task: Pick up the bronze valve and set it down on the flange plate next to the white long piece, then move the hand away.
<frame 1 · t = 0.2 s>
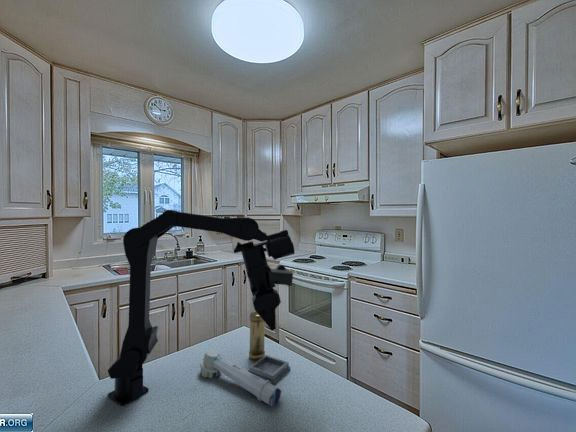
hand: (271, 322, 72), 15 cm above the countertop, tool tilted 15°, fingers open, 9 cm apart
white long piece: (236, 387, 70), on the countertop
flange plate: (269, 372, 76), on the countertop
bronze valve: (256, 357, 84), on the countertop
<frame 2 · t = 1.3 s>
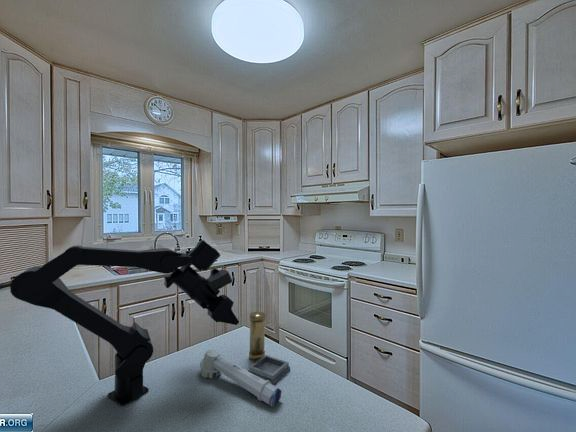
hand: (231, 318, 80), 13 cm above the countertop, tool tilted 45°, fingers open, 9 cm apart
nothing on the countertop moved.
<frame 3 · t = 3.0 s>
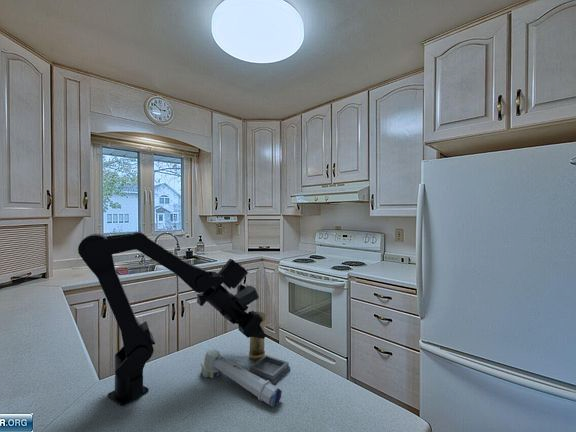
hand: (257, 331, 84), 8 cm above the countertop, tool tilted 45°, fingers open, 9 cm apart
nothing on the countertop moved.
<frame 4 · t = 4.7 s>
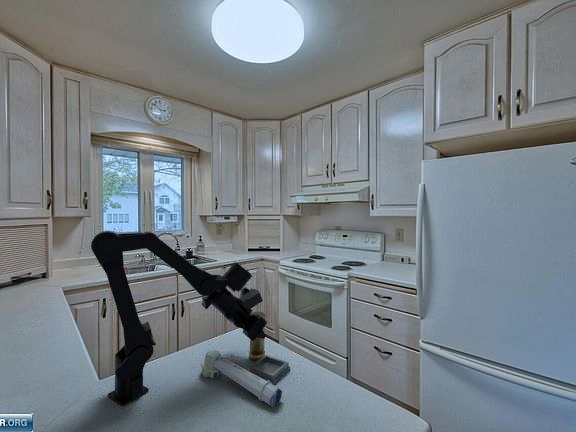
hand: (261, 334, 85), 7 cm above the countertop, tool tilted 45°, fingers closed on bronze valve, 4 cm apart
bronze valve: (256, 356, 84), on the countertop, touching gripper
everything else where it was.
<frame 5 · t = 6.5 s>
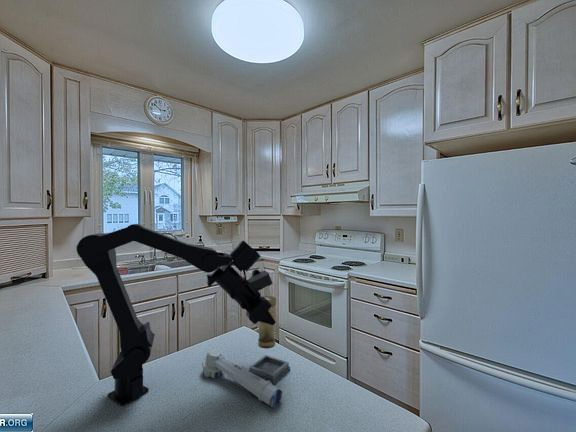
hand: (271, 320, 79), 13 cm above the countertop, tool tilted 45°, fingers closed on bronze valve, 4 cm apart
bronze valve: (266, 344, 78), point 7 cm above the countertop, touching gripper
everything else where it was.
when the fingers open (8 cm above the countertop, at t = 8.6 s): bronze valve stays where it is, resting on flange plate.
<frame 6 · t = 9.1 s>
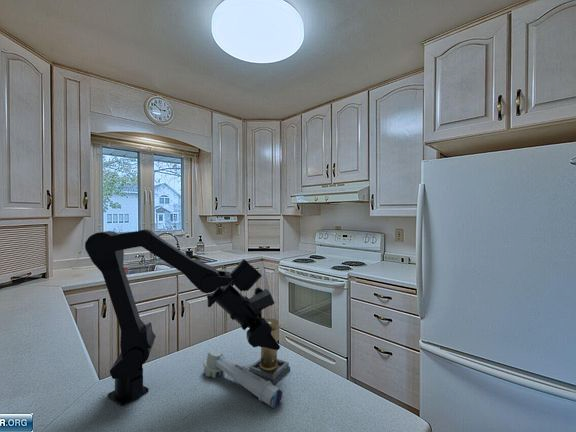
hand: (274, 340, 76), 9 cm above the countertop, tool tilted 45°, fingers open, 9 cm apart
bronze valve: (268, 369, 76), point 1 cm above the countertop, touching flange plate
everything else where it was.
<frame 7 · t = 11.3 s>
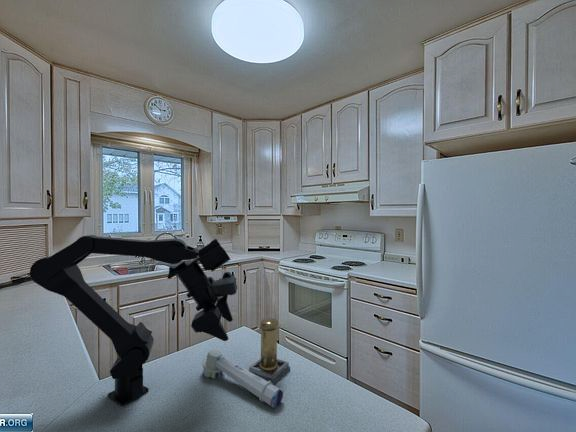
hand: (229, 329, 73), 13 cm above the countertop, tool tilted 35°, fingers open, 9 cm apart
nothing on the countertop moved.
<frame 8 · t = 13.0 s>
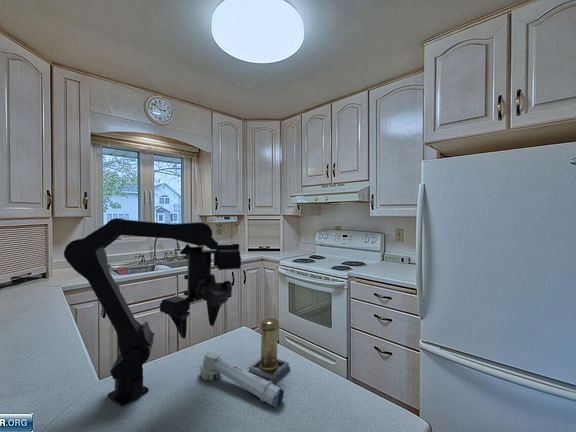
hand: (198, 331, 71), 13 cm above the countertop, tool pointing down, fingers open, 9 cm apart
at the end: bronze valve 0.1 cm off-centre on the flange plate, point 1.0 cm above the flange plate's base; bronze valve tilted 0°; the gripper is holding nothing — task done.
